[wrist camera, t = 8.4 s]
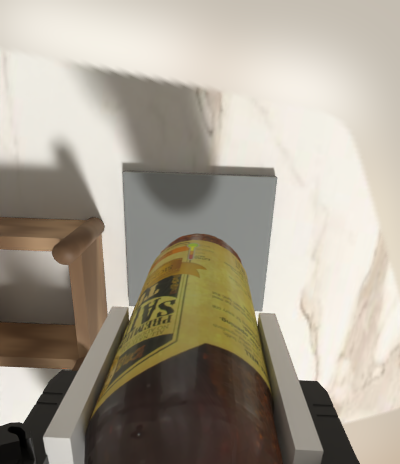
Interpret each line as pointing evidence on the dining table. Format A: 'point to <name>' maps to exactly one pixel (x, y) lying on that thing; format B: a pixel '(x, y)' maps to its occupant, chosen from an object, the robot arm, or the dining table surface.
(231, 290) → the sauce bottle
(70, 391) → the robot arm
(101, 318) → the corner post wooden tray
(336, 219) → the dining table surface
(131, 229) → the mat
